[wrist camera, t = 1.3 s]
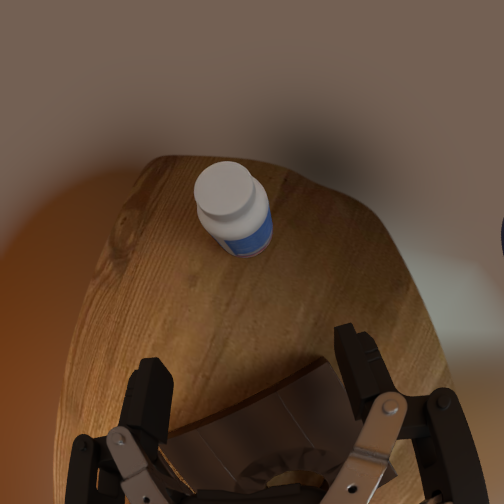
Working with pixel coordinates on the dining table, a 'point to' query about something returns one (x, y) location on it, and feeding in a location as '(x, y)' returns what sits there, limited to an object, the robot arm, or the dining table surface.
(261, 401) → the base pad
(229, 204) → the pill bottle
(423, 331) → the dining table surface
